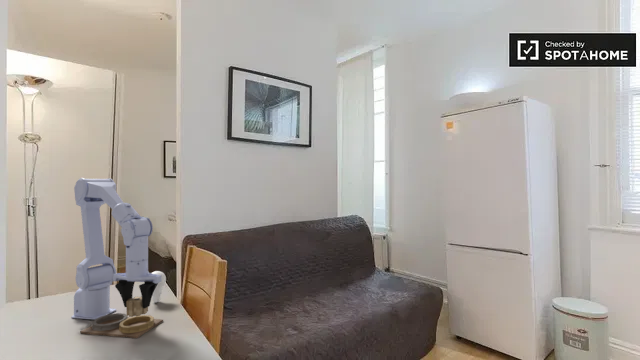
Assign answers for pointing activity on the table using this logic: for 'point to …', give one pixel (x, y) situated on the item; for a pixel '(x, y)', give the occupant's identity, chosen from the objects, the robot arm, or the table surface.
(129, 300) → the gear
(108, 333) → the gear board
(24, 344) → the table surface
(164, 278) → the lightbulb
